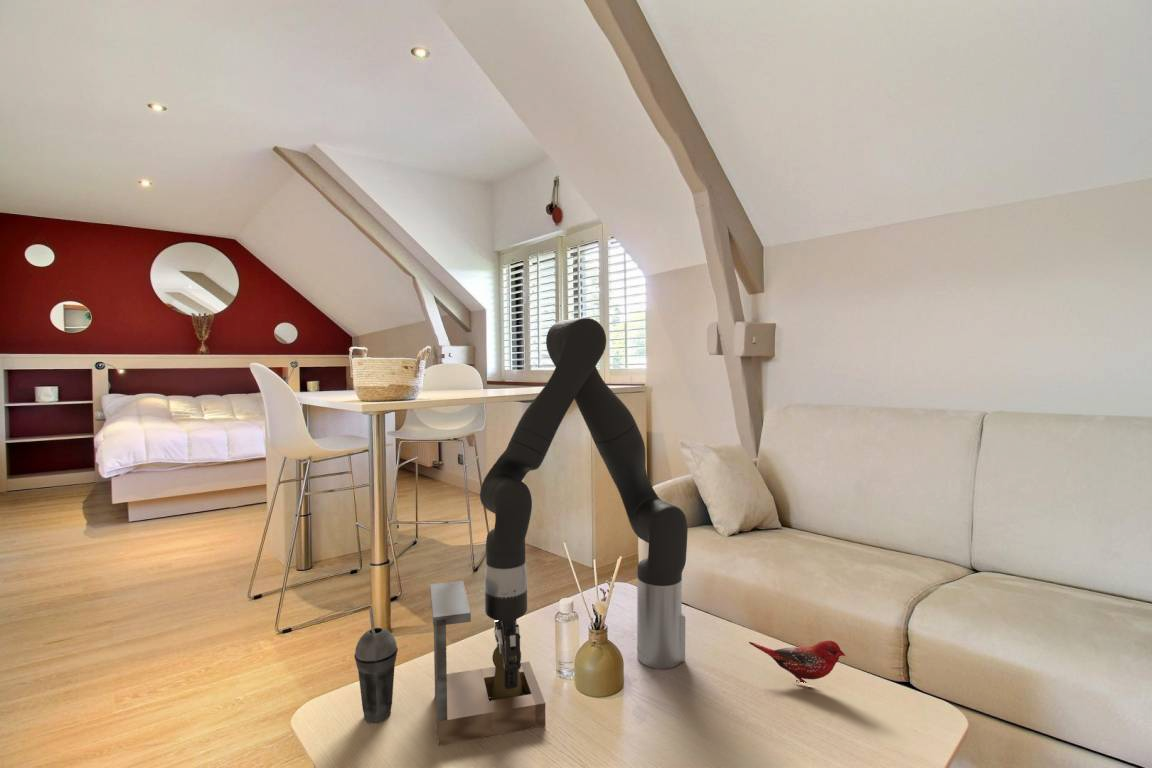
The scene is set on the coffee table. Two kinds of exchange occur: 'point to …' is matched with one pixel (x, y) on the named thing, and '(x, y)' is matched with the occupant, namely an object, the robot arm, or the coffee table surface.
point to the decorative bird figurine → (806, 659)
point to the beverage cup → (376, 672)
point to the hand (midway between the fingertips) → (506, 674)
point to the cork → (498, 686)
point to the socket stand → (475, 682)
